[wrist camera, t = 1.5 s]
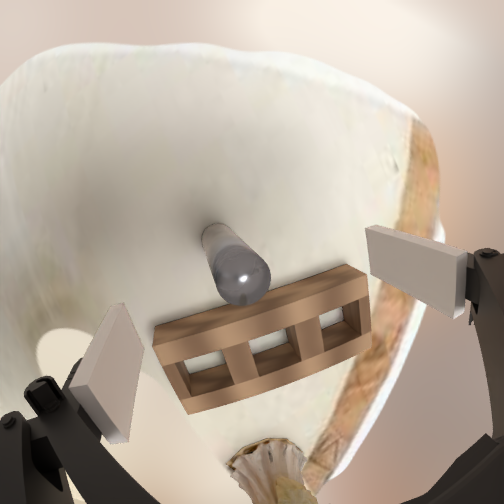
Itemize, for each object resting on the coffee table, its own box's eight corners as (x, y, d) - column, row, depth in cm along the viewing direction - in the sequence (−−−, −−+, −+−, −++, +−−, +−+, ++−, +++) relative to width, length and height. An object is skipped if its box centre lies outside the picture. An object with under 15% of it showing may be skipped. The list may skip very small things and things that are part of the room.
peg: (206, 259, 27) (224, 312, 16) (197, 228, 27) (208, 262, 15) (237, 250, 28) (275, 295, 16) (229, 219, 27) (263, 245, 16)
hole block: (186, 391, 30) (187, 414, 26) (155, 326, 28) (152, 346, 24) (354, 331, 33) (372, 347, 30) (346, 264, 31) (366, 274, 27)
